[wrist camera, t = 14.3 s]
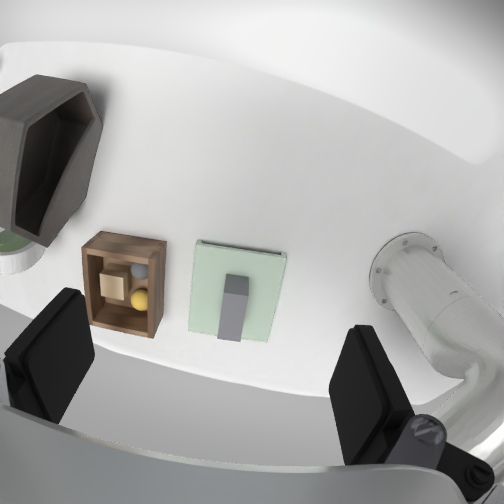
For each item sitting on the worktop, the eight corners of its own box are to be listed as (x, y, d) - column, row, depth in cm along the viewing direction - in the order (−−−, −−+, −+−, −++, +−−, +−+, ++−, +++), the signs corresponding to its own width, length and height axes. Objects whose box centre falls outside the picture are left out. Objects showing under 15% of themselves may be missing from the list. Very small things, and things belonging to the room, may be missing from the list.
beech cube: (131, 266, 43) (123, 277, 40) (131, 288, 44) (123, 300, 41) (109, 262, 43) (99, 273, 40) (110, 283, 44) (101, 295, 41)
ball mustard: (154, 287, 44) (148, 298, 42) (153, 305, 46) (148, 316, 43) (134, 284, 44) (127, 294, 41) (134, 301, 45) (128, 312, 43)
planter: (63, 254, 38) (-20, 217, 18) (22, 236, 37) (-66, 193, 17) (110, 145, 42) (75, 50, 22) (69, 133, 41) (21, 44, 21)
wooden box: (166, 241, 43) (154, 259, 37) (163, 314, 47) (153, 338, 42) (100, 231, 42) (81, 247, 36) (103, 302, 46) (88, 324, 41)
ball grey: (155, 255, 42) (149, 265, 40) (154, 275, 44) (148, 285, 41) (134, 252, 42) (127, 261, 40) (134, 271, 43) (127, 281, 41)
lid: (285, 252, 44) (291, 275, 37) (266, 334, 49) (268, 364, 42) (197, 239, 43) (188, 260, 36) (190, 323, 48) (182, 352, 42)
